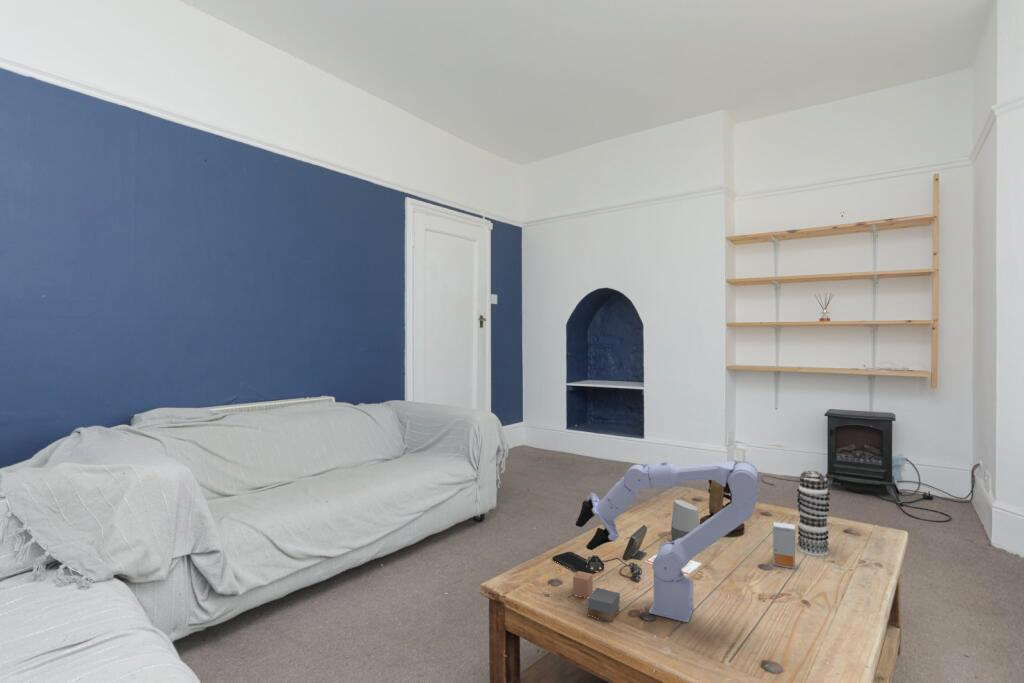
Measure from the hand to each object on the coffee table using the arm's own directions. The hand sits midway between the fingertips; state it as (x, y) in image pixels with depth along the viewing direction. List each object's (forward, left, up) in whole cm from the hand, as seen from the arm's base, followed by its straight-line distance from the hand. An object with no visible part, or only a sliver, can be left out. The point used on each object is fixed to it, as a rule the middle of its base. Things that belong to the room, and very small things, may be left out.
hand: (583, 536), depth 142 cm
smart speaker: (-18, -47, -15) cm, 53 cm away
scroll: (-27, -66, -15) cm, 73 cm away
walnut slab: (-8, +8, -15) cm, 19 cm away
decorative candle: (-55, -60, -15) cm, 83 cm away
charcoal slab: (-8, +8, -13) cm, 17 cm away
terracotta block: (0, +1, -15) cm, 15 cm away
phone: (+8, -15, -16) cm, 23 cm away
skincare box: (-47, -44, -15) cm, 66 cm away
